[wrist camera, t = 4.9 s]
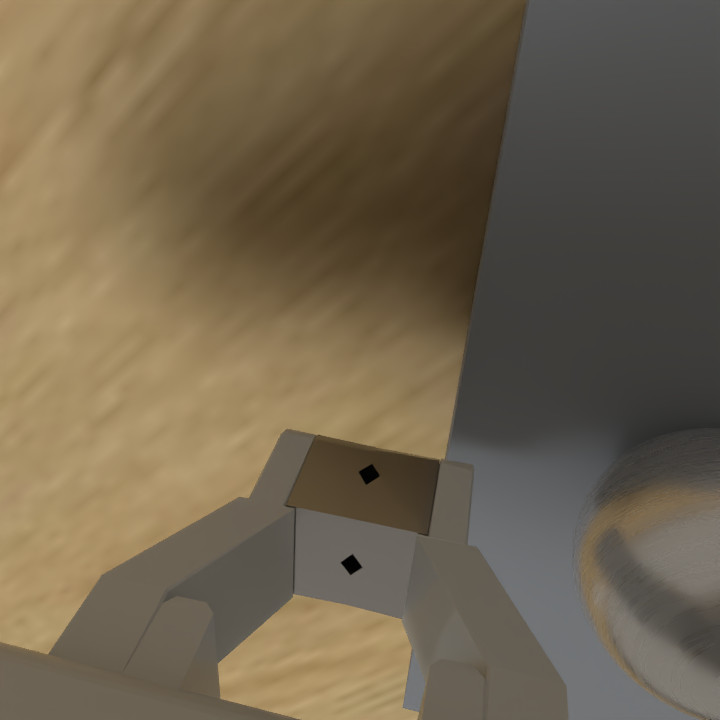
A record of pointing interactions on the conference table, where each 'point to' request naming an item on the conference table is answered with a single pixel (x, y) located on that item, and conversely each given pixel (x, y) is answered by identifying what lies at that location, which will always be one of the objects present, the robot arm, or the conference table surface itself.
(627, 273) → the board
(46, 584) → the conference table surface
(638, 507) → the steel ball
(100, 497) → the conference table surface
